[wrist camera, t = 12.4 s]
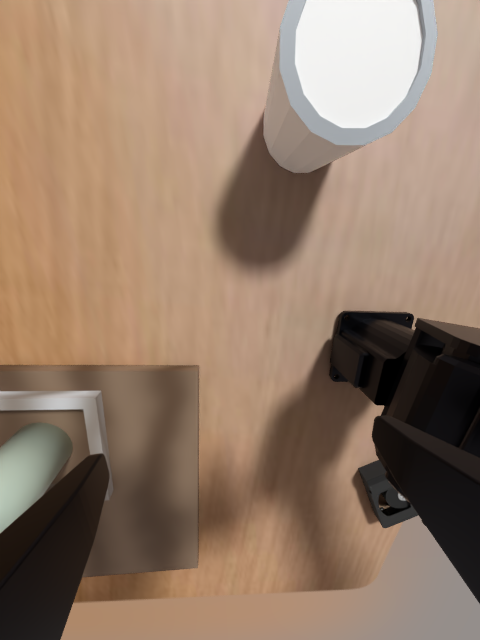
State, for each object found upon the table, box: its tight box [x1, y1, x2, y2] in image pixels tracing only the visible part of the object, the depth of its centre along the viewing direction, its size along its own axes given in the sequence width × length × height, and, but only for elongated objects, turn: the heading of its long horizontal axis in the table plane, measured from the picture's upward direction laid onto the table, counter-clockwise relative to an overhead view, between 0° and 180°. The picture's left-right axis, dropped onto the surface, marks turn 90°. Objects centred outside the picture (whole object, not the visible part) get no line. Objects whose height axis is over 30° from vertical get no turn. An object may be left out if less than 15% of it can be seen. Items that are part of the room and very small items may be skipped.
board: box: [0, 365, 199, 577], centre depth 23 cm, size 20×24×2 cm
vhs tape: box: [358, 460, 418, 528], centre depth 27 cm, size 14×8×2 cm, turn 113°
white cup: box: [263, 0, 438, 173], centre depth 13 cm, size 7×7×7 cm
